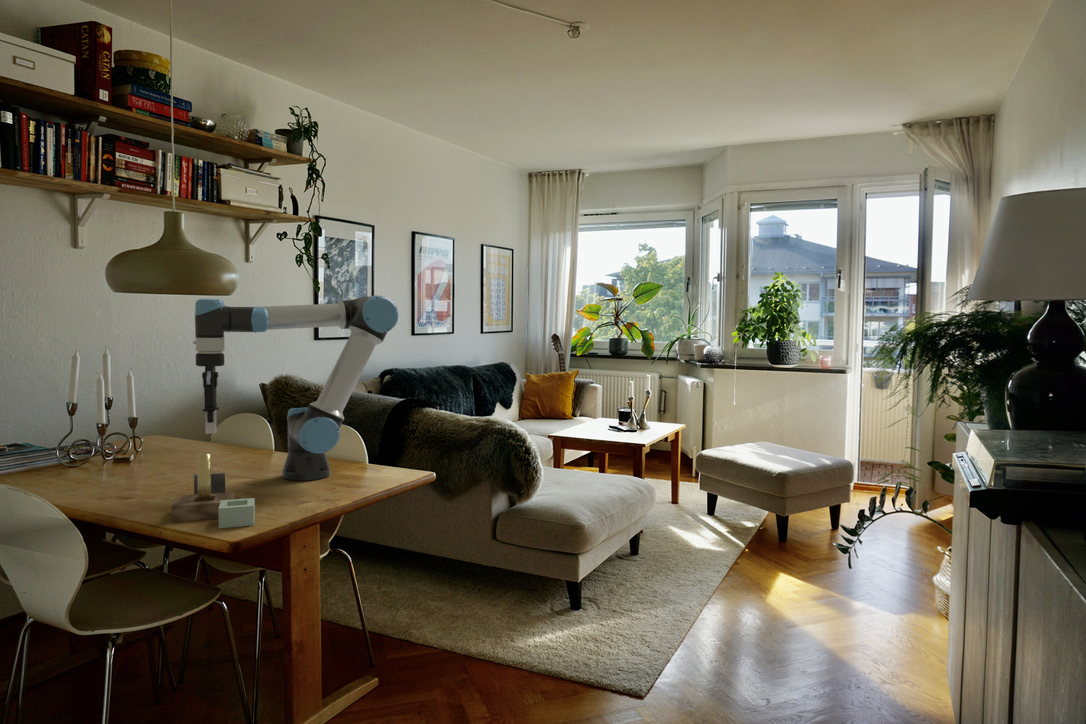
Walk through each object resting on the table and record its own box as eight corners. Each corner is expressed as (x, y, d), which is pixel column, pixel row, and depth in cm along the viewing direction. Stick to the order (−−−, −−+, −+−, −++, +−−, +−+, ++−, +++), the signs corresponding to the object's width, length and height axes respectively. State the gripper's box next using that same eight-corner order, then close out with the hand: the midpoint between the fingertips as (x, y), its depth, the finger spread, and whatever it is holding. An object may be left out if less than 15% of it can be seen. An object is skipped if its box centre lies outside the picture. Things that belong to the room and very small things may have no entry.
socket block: (234, 506, 189) (234, 491, 189) (232, 516, 179) (232, 501, 179) (178, 510, 184) (177, 495, 184) (172, 521, 174) (171, 506, 174)
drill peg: (211, 511, 184) (211, 452, 183) (210, 514, 181) (210, 455, 180) (198, 512, 183) (197, 453, 182) (197, 515, 180) (196, 455, 179)
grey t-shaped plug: (225, 497, 198) (225, 472, 197) (222, 506, 188) (222, 480, 188) (194, 499, 195) (194, 474, 194) (190, 508, 185) (189, 482, 185)
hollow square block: (254, 516, 180) (254, 497, 179) (253, 525, 172) (253, 505, 172) (221, 519, 177) (221, 500, 177) (218, 528, 169) (218, 508, 169)
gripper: (198, 351, 204) (199, 429, 205) (192, 353, 191) (193, 437, 192) (226, 351, 206) (226, 428, 208) (222, 353, 193) (223, 436, 195)
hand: (211, 432), depth 200 cm, fingers closed
